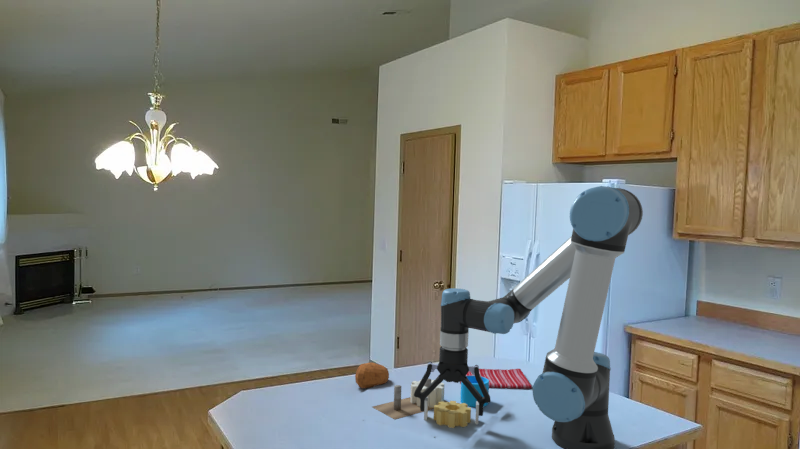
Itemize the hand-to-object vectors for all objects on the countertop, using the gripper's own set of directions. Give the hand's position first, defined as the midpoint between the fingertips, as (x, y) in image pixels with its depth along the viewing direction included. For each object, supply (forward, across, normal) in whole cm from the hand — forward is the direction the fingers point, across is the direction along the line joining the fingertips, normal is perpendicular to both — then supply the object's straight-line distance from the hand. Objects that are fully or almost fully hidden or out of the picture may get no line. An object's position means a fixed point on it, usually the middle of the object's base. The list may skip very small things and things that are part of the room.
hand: (451, 425), depth 148 cm
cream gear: (-1, +8, -13) cm, 15 cm away
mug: (0, -6, -17) cm, 18 cm away
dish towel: (+1, -12, -42) cm, 43 cm away
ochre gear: (0, 0, 0) cm, 0 cm away
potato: (+1, +27, -27) cm, 38 cm away
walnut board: (0, +11, -9) cm, 14 cm away
